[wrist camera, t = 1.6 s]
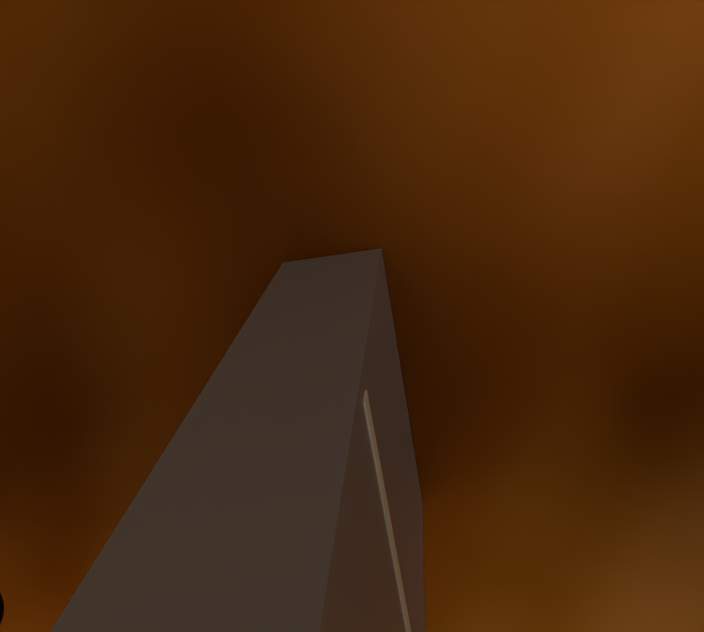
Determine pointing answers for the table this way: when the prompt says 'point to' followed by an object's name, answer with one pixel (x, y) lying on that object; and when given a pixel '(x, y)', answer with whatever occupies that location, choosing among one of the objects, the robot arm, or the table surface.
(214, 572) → the grey domino block
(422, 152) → the table surface
